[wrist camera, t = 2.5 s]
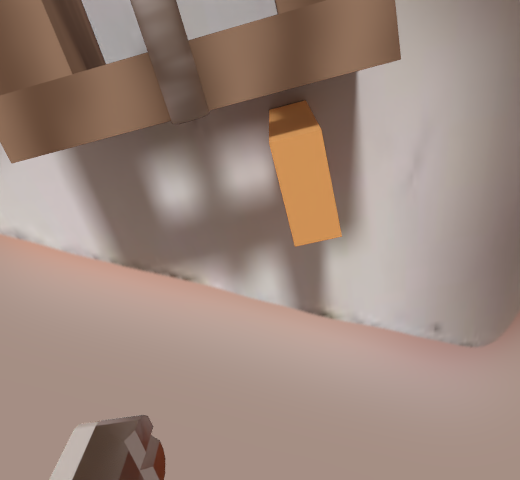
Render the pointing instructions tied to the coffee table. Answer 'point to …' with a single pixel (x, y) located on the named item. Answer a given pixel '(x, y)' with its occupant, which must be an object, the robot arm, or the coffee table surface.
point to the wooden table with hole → (168, 66)
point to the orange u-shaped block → (303, 173)
